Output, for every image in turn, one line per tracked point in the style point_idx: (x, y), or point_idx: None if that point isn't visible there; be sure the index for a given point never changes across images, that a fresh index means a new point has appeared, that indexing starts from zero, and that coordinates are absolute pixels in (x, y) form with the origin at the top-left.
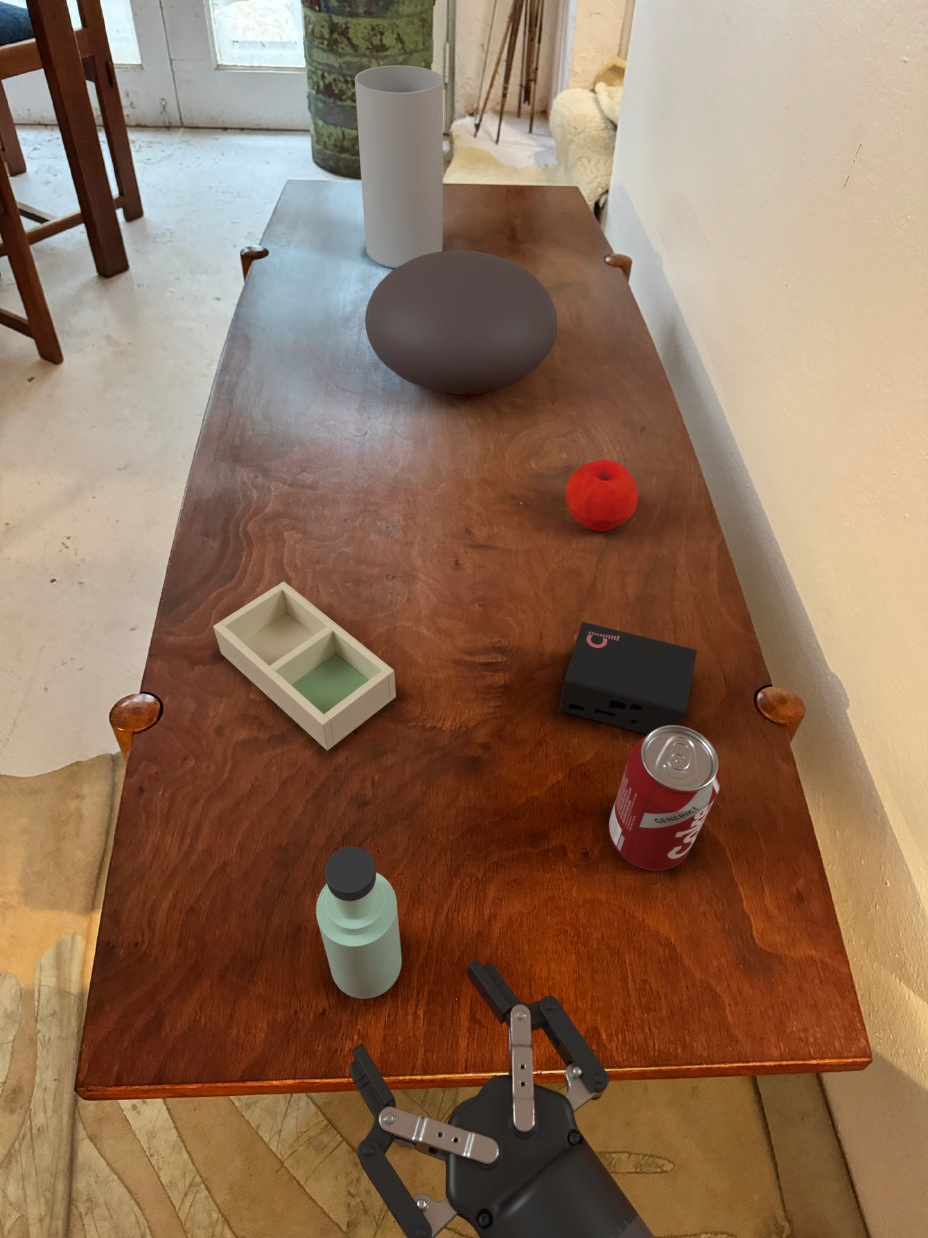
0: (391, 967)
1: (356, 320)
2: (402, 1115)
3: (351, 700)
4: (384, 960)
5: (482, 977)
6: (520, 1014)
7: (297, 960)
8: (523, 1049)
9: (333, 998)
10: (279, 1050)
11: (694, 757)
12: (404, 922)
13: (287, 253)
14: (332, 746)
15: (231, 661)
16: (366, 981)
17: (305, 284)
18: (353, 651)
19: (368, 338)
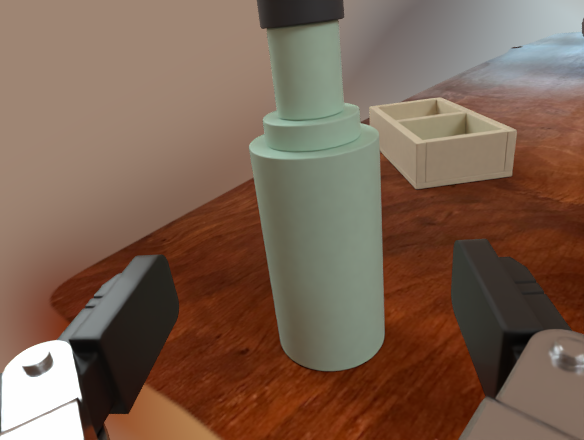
0: (343, 308)
1: (575, 57)
2: (61, 372)
3: (456, 137)
4: (326, 261)
5: (479, 259)
6: (570, 345)
7: (262, 298)
8: (540, 422)
9: (265, 345)
10: (169, 359)
11: None
12: (409, 319)
13: (535, 46)
14: (422, 187)
15: None
16: (297, 304)
17: (542, 51)
18: (479, 126)
19: (582, 30)
